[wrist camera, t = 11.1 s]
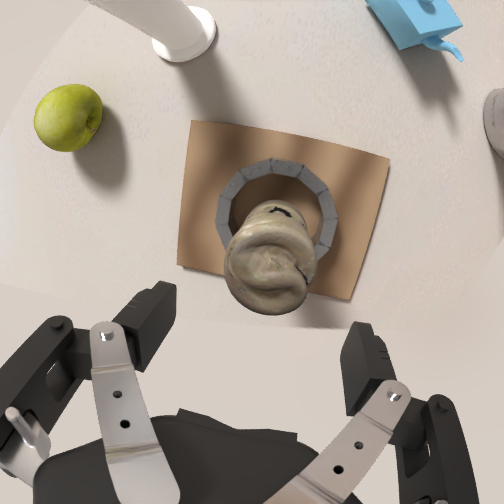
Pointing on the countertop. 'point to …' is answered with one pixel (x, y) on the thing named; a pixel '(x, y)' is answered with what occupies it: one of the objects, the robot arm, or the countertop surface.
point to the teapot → (418, 22)
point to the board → (279, 196)
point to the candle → (166, 25)
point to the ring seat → (284, 167)
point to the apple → (68, 117)
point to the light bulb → (271, 260)
